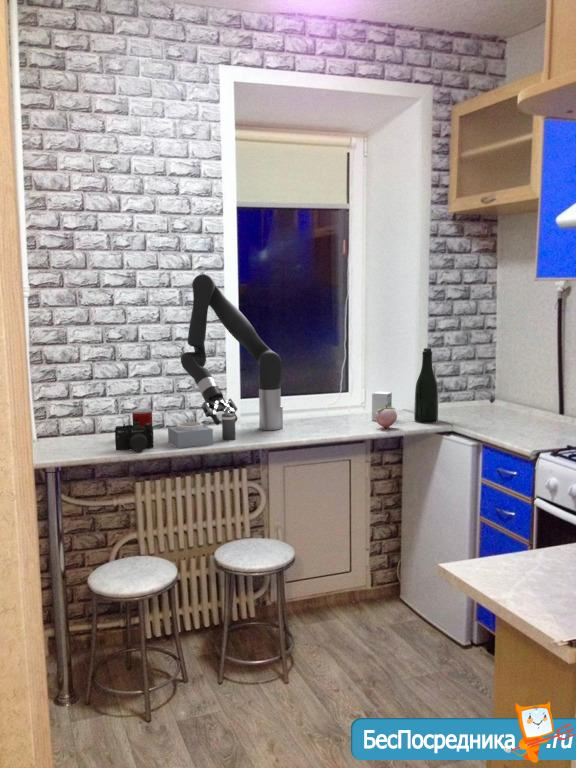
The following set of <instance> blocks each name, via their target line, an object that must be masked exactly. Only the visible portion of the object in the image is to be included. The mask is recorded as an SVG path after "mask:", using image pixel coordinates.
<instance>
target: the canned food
mask: <svg viewBox="0 0 576 768" xmlns="http://www.w3.org/2000/svg"><path fill="white" fill-rule="evenodd" d="M131 413H132V414H131V415H132V416H131V417H132V423H133V422H139V424H140V426H145V424H146V423H150V424H152V425H153V409H150V408H138V409H137V408H136V409H133V410H132V412H131Z"/></svg>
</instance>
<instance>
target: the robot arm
mask: <svg viewBox="0 0 576 768" xmlns="http://www.w3.org/2000/svg"><path fill="white" fill-rule="evenodd" d="M191 287H192V295H193V296H192V298H193V301H192V302H193V303H192V312H191V317H190V322H189V327H188V334H187V344H188V346H190V347H193V349H194V351H187V352H184V353H182V355H181V356H180V364H181V366H182V368H183V369H184V371H185V372H186V373H187V374H188V375H189V376H190V377H191V378H192V379H193V380H194V382H195V384H196V386H197V387H198V390H199V392H200V394H201V396H202V398H203V400H204V401H203V403H202V405H201V409H202V410H203V412H204V415H205V417H206V418H209V417H210V418H211V419H212V421H213V423H214V424H215V425H216V426H219V424H221V420H220V418H219V417H218V415H217V414H216V413H219V412H224V414H226V413H232V414H235V423H236V422H238V416H237V414H236V412H237V411H238V407H237V406H236V404H235V402H234V401H233V400H232V398H229V399H227V400H226V399H225V398H224V395H223V392H222V391H221V389H220V387H219V385H218V384H217V382H216V380H215V379H214V378H213V376H212V374H211V373H210V371H209V370H208V368H206V367H205V365H206V363H207V353H206V347H205V340H206V334H207V325H208V324H207V323H208V322H207V320H208V313H209V312H208V311H209V306H210V308H211V309H212V311H213V312H214V313H215V316H217V318H218V320H219V321H220V323H221V324H222V326H223V327H224V328H225V329H226V330H227V331H228V333H230V335H232V336H231V337H233V338H234V339H235V340H236V341H237V342H238V343H239V344H240V345H241V346H243V348H245V349H246V350H247V352H248V353H249V354H250V355H251V356H252V358H253V360H254V361H255V362H256V364H257V365H258V367H259V382H258V401H259V402H258V403H259V415H258V416H259V425H258V426H259V430H264V431H274V430H275V431H276V430H280V429H283V428H284V414H283V413H284V412H283V409H284V407H283V406H282V405H281V404H282V401H281V400H282V398H281V395H282V392H281V391H282V390H281V389H282V388H281V384H282V359H281V357H280V355H279V354H278V353H277V352H275V351H273V350H272V349H271V348H270V347H269V346H268V345H267V344H266V343H265V342H264V341H263V340H262V339H261V337H260V336H259V334H258V333H257V331H256V330H255V327H253V325H252V324H251V322H250V321H249V320H248V318H247V317H246V315H244V314H243V313H242V312H241V311H240V309H239V308H238V307H237V306H235V305H234V304H233V303H232V302H231V301H230V300H229V299H227V297H226V296H225V295H224V293H222V291H221V290H220V288H219V287H218V285H217V284H216V283H215V280H214V279H213V277H211V275H208V274H205V273H203V274H201V273H200V274H199V275H197V276H195V277H194V278H193V280H192V285H191ZM210 409H211V410H210Z"/></svg>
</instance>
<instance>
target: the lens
mask: <svg viewBox="0 0 576 768" xmlns="http://www.w3.org/2000/svg"><path fill="white" fill-rule="evenodd" d="M235 414H236V413H235ZM235 414H232V413H222V414H221V433H222V435H221V436H222V441H226V440H228V441H229V440H231V441H236V422H235Z"/></svg>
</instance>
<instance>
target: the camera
mask: <svg viewBox="0 0 576 768" xmlns="http://www.w3.org/2000/svg"><path fill="white" fill-rule="evenodd" d="M114 438H115V439H114V440H115V442H114V443H115V451H116V450H120V451H128V450H129V451H133V452H137V453H141V452H144V451H145V450H146V448H147V449H153V448H154V445H155V444H154V427H153V423H152V424H150V423H146V424H145V426H140V424H139V422H133V421H132V424H127V425H126V423H123V425H121V426H120V425H118V426H115V428H114ZM130 449H131V450H130Z"/></svg>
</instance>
